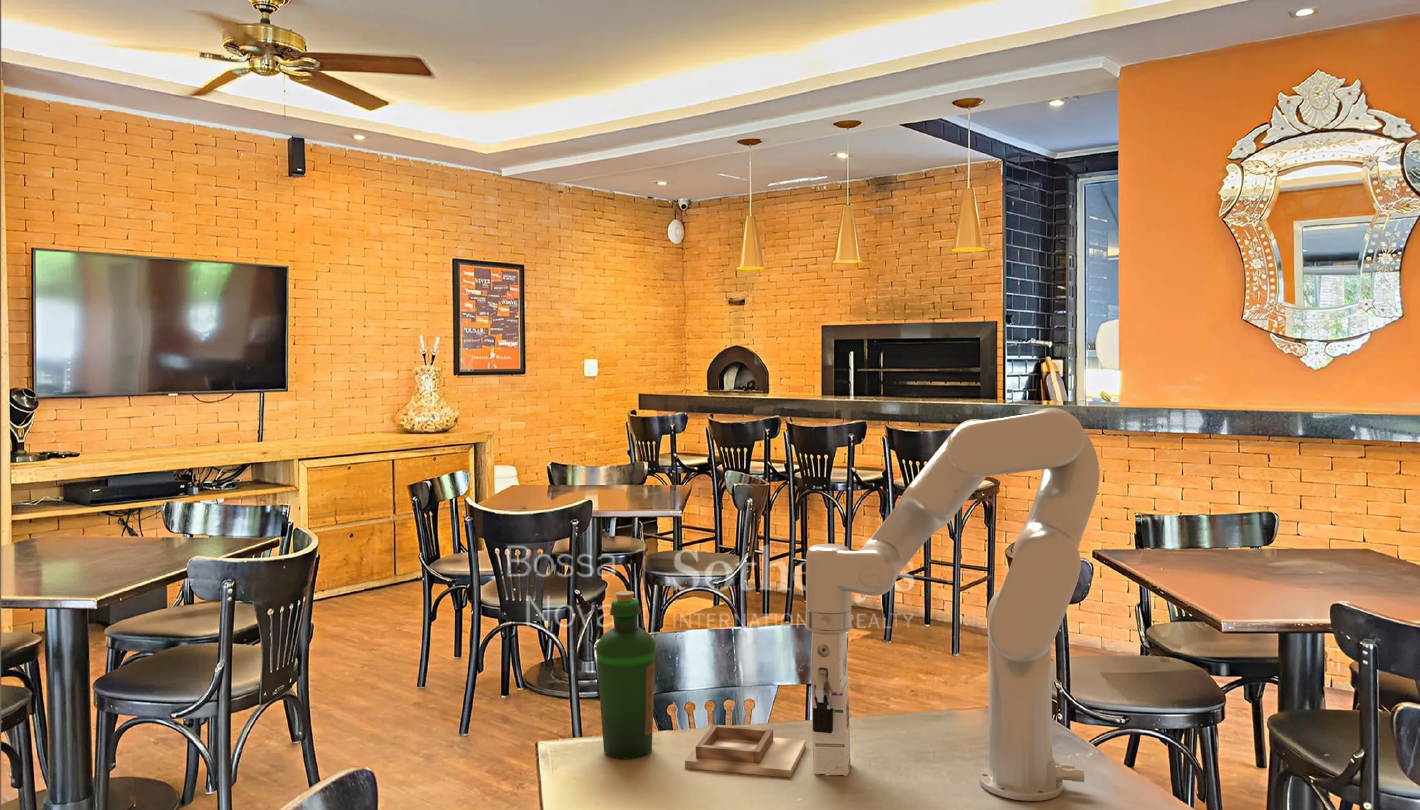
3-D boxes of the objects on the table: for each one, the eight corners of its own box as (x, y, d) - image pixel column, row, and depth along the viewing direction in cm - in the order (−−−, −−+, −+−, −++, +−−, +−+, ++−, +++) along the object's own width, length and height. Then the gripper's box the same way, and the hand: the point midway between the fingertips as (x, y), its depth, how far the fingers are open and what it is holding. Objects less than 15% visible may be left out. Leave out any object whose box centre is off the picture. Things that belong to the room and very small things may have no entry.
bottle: (671, 749, 175) (667, 591, 174) (626, 767, 167) (622, 602, 167) (630, 736, 182) (626, 584, 182) (585, 752, 174) (581, 594, 174)
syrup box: (848, 777, 162) (847, 688, 161) (812, 774, 163) (810, 686, 162) (850, 763, 167) (849, 678, 167) (815, 761, 168) (814, 676, 168)
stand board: (805, 746, 175) (805, 728, 175) (790, 777, 162) (790, 758, 162) (707, 738, 180) (707, 721, 180) (684, 767, 167) (684, 749, 167)
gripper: (843, 634, 155) (842, 742, 156) (857, 609, 172) (857, 707, 172) (796, 630, 157) (795, 737, 158) (814, 606, 174) (814, 703, 174)
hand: (827, 721), depth 165 cm, fingers open, 9 cm apart
